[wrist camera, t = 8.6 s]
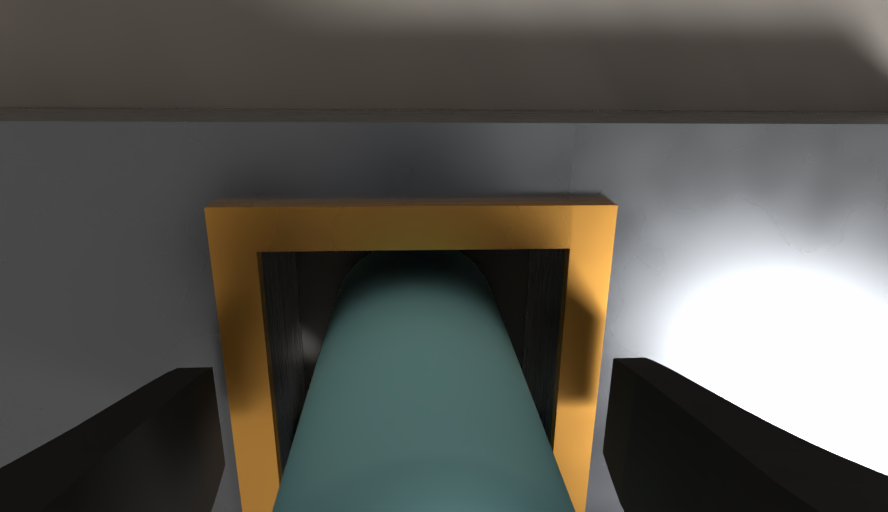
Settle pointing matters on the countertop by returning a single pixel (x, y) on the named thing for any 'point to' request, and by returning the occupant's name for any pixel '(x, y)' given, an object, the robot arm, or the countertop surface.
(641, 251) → the grey peg hole board
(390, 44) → the countertop surface
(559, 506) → the peg
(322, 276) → the countertop surface
